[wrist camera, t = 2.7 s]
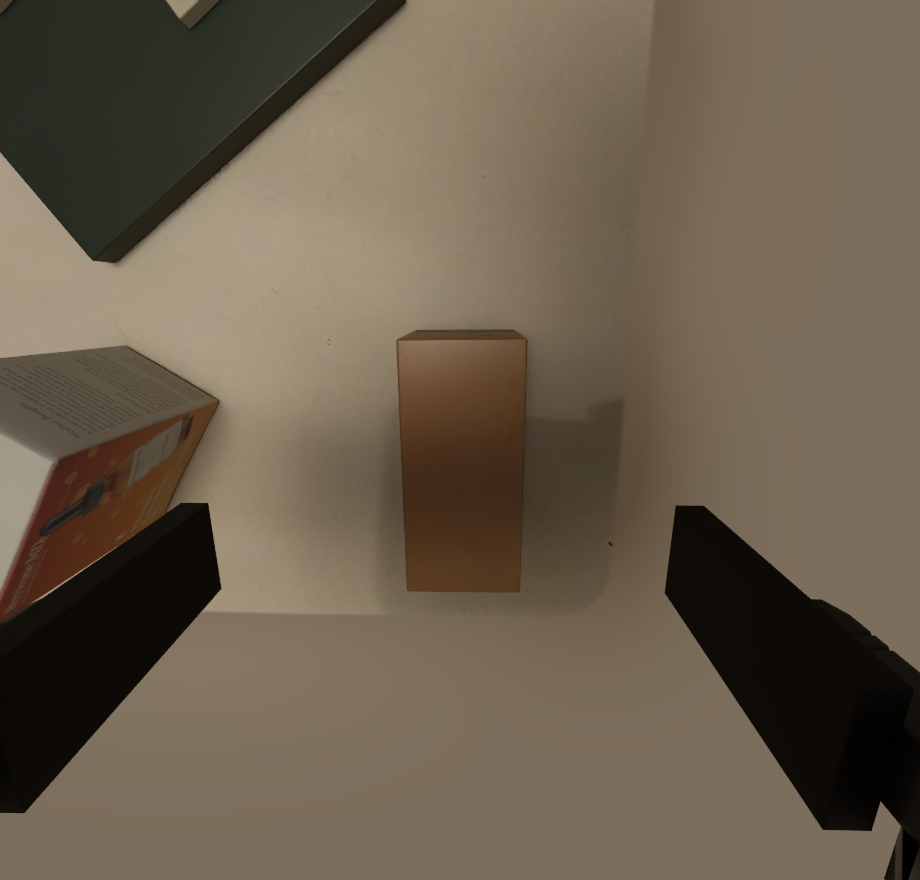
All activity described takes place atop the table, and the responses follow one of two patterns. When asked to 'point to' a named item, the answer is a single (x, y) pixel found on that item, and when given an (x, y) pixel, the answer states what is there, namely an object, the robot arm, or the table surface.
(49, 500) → the small box
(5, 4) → the cream rectangular block
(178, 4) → the cream rectangular block
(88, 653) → the robot arm
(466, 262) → the table surface
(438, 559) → the brown rectangular block
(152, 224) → the chalkboard
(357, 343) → the table surface
